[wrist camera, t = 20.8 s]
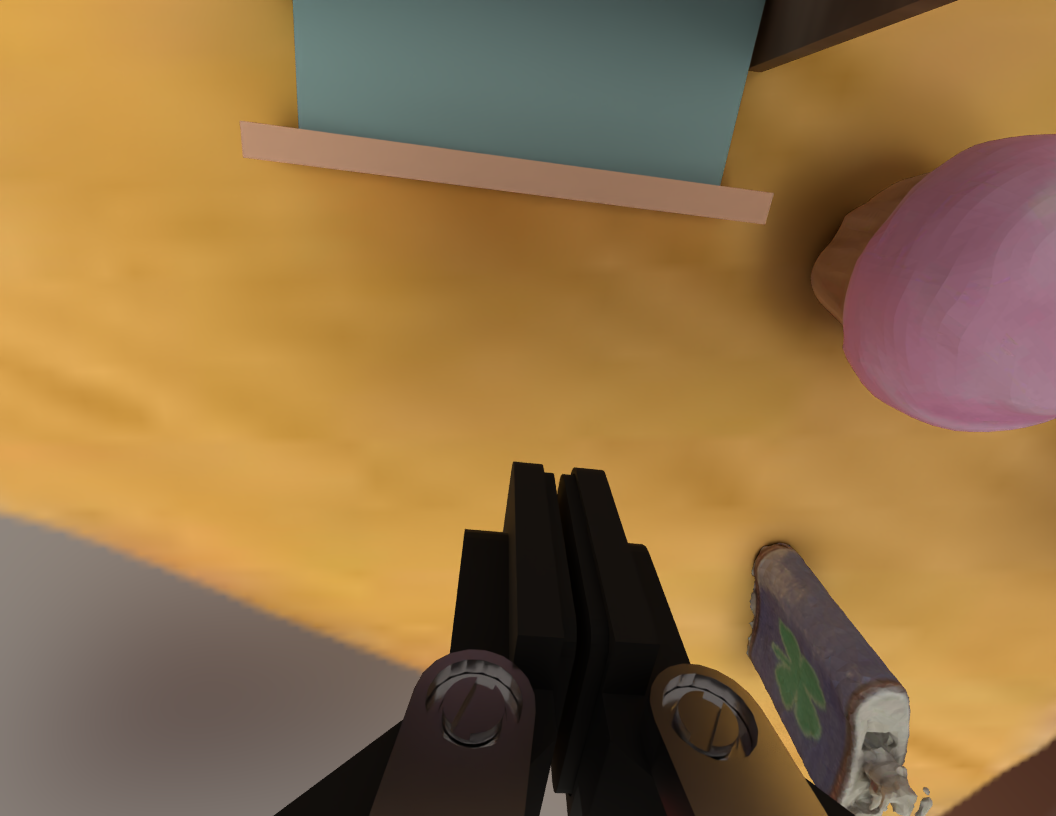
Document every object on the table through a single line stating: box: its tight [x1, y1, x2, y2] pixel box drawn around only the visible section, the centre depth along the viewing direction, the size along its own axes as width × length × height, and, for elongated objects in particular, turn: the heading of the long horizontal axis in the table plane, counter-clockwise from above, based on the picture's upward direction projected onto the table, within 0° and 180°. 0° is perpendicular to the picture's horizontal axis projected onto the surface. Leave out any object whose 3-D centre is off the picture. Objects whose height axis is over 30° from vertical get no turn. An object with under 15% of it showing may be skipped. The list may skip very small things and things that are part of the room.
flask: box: [747, 543, 932, 816], centre depth 25 cm, size 9×3×11 cm, turn 6°
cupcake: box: [811, 134, 1056, 432], centre depth 18 cm, size 9×9×10 cm
